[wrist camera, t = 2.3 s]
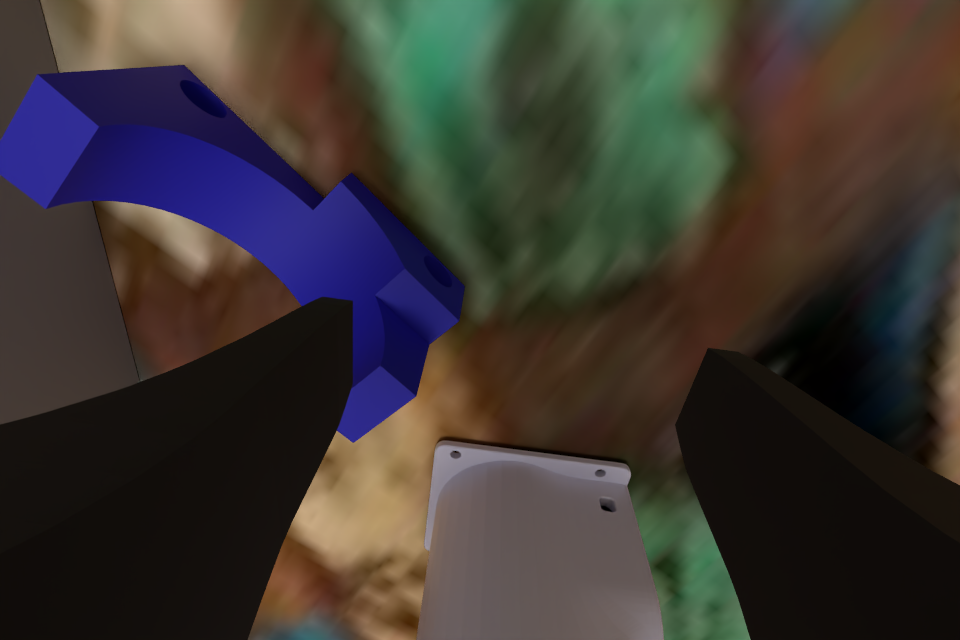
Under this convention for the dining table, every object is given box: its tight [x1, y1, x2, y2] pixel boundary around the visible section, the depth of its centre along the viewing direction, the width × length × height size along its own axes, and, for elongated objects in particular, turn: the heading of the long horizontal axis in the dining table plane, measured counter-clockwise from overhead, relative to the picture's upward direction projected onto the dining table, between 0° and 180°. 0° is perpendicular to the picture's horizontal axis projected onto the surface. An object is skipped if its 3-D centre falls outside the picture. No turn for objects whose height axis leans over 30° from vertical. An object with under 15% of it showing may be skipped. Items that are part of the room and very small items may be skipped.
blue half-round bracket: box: [0, 65, 465, 443], centre depth 16 cm, size 12×4×6 cm, turn 42°
